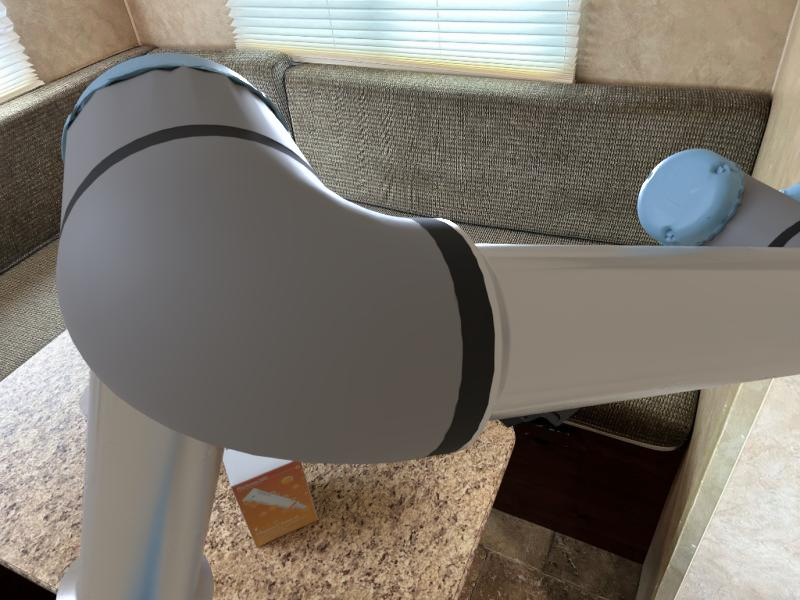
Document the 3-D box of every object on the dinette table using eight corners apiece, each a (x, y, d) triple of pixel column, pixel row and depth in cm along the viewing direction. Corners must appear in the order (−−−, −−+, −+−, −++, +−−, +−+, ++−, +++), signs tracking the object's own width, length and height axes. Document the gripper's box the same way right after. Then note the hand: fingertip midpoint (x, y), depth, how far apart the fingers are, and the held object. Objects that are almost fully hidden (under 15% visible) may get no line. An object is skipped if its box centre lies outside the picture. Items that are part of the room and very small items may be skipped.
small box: (256, 549, 73) (229, 487, 65) (244, 507, 78) (216, 444, 69) (320, 521, 75) (300, 457, 67) (304, 481, 80) (284, 418, 72)
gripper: (696, 416, 52) (514, 479, 66) (686, 251, 70) (545, 328, 84) (641, 362, 50) (465, 438, 64) (645, 207, 68) (507, 293, 82)
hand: (510, 376), depth 74 cm, fingers open, 13 cm apart
